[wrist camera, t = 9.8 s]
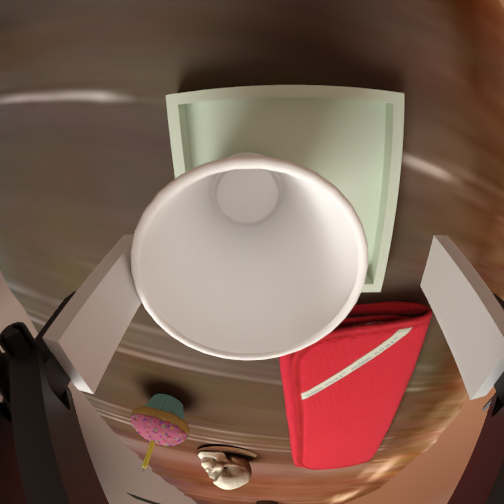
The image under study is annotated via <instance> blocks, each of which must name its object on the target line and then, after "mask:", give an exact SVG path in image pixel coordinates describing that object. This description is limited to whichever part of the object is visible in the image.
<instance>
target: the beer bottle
mask: <svg viewBox="0 0 504 504" xmlns="http://www.w3.org/2000/svg"><path fill="white" fill-rule="evenodd" d="M256 504H278V502H274V501H257V502H256Z"/></svg>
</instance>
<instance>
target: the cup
mask: <svg viewBox="0 0 504 504" xmlns="http://www.w3.org/2000/svg"><path fill="white" fill-rule="evenodd" d="M367 270H368V243H367V239H366V235H365V232H364V228H363V224H362V222H361V221H360V219H359V217H358V215H357V213H356V211H355V209H354V207H353V206H352V204H351V203H350V202H349V201H348V199H347V198H346V197H345V196H344V195H343V194H342V193H341V191H340V190H339V189H338V188H337V187H336V186H335V185H333V184H332V183H331V182H329V181H328V180H326V179H325V178H324V177H322V176H321V175H319V174H318V173H316V172H315V171H313V170H310V169H308V168H306V167H303V166H301V165H298V164H296V163H294V162H291V161H288V160H283V159H277V158H272V157H266V156H264V155H261V154H257V153H251V152H250V153H238V154H234V155H231V156H229V157H227V158H224V159H219V160H215V161H211V162H207V163H204V164H202V165H200V166H198V167H195V168H193V169H191V170H189V171H187V172H185V173H183V174H181V175H179V176H178V177H177V178H175V179H174V180H173V181H172V182H170V183H169V184H168V185H167V186H165V187H164V188H163V189H162V190H160V191H159V192H158V194H157V195H156V196H155V197H154V199H153V200H152V201H151V203H150V204H149V205H148V206H147V208H146V209H145V210H144V212H143V214H142V217H141V219H140V221H139V223H138V225H137V227H136V230H135V232H134V237H133V242H132V247H131V273H132V277H133V280H134V284H135V288H136V291H137V293H138V295H139V297H140V299H141V301H142V303H143V305H144V307H145V309H146V310H147V311H148V313H149V314H150V315H151V316H152V318H153V319H154V320H155V321H156V323H157V324H158V325H160V326H161V327H162V328H163V329H164V330H165V331H166V332H168V333H169V334H170V335H171V336H172V337H174V338H176V339H177V340H179V341H180V342H182V343H184V344H185V345H187V346H189V347H191V348H194V349H196V350H198V351H201V352H203V353H206V354H210V355H214V356H218V357H222V358H228V359H237V360H263V359H269V358H275V357H280V356H284V355H287V354H290V353H293V352H296V351H299V350H301V349H303V348H305V347H308V346H310V345H312V344H314V343H316V342H317V341H319V340H320V339H322V338H323V337H324V336H326V335H327V334H329V333H330V332H332V331H333V330H334V329H335V328H336V327H337V326H338V325H339V324H340V323H341V322H342V321H343V320H344V319H345V318H346V316H347V315H348V314H349V312H350V311H351V309H352V308H353V307H354V305H355V304H356V302H357V300H358V298H359V296H360V293H361V291H362V289H363V287H364V283H365V279H366V274H367Z"/></svg>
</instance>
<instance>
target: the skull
mask: <svg viewBox="0 0 504 504" xmlns="http://www.w3.org/2000/svg"><path fill="white" fill-rule="evenodd" d="M197 455H198V456H199V457H200V459H201V461H202V462H201V465H202V466H203V467H204V468H205V471H207V473H208V476H209V477H210V478H213V479H214V482H213V483H214V484H215V485H217V486H219V487H220V488H223V489H235V488H238V487H240V486H242V485H244V484H246V483H247V482H248V481H249V480H250V477H251V466H250V464H249V462H248V461H247V460H248V459H251V458H253V457H255V456H257V455H256V454H254V453H252V452H250V451H247V450H243V449H240V448H233V447H224V446H210V447H208V446H207V447H204V448H201V449H198V450H197ZM252 456H253V457H252ZM255 458H256V457H255Z"/></svg>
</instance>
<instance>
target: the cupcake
mask: <svg viewBox="0 0 504 504" xmlns="http://www.w3.org/2000/svg"><path fill="white" fill-rule="evenodd" d="M130 418H131V422H132V424H133V425H132V426H133V427H134V428H135V430H136V431H137V432H138V433H139V434H140V435H141V436H142V437H143V438H146V439H147V440H148V441H150V445H149V448H148V450H147V453H146V456H145V459H144V462H143V465H142V466H143V470H142V472H143V471H144V469H145V468H146V467H147V465H148V462H149V459H150V456H151V453H152V450H153V447H154V444H155V443H156V444H158V445H160V444H161V445H164V446H173V445H174V446H175V445H176V444H180V443H182V442H185V440H186V439H187V437H188V436H187V435H188V433H189V431H190V429H189V427H188V424H187V422H186V421H185V419H184V413H183V404H182V403H181V402H180V401H179V400H178V399H176V398H174V397H172V396H170V395H166V394H155V395H154V396H153V397H152V398H151V399H150V401H149V402H148V403H147V404H146V405H145V406H143V407H138V408H136V409H134V410H133V411H132V415H131V417H130Z"/></svg>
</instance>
